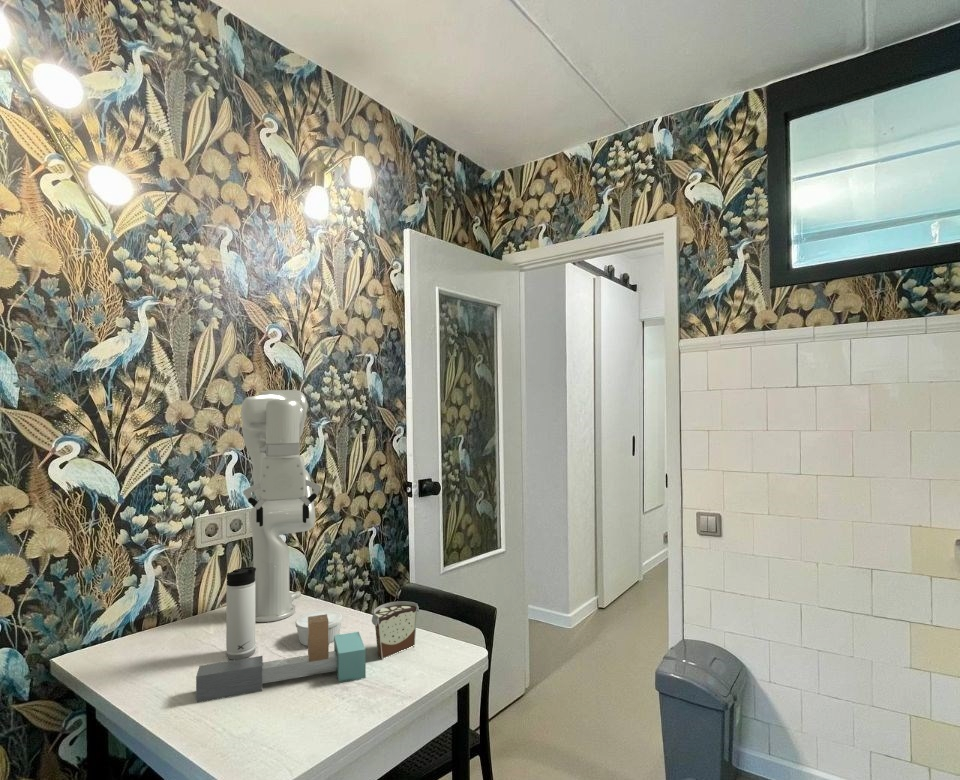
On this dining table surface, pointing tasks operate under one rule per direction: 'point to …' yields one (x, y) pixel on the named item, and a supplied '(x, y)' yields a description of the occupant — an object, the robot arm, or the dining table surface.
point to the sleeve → (229, 678)
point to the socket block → (350, 657)
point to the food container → (395, 627)
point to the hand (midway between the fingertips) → (283, 523)
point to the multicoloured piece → (305, 665)
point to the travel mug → (240, 613)
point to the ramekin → (333, 625)
